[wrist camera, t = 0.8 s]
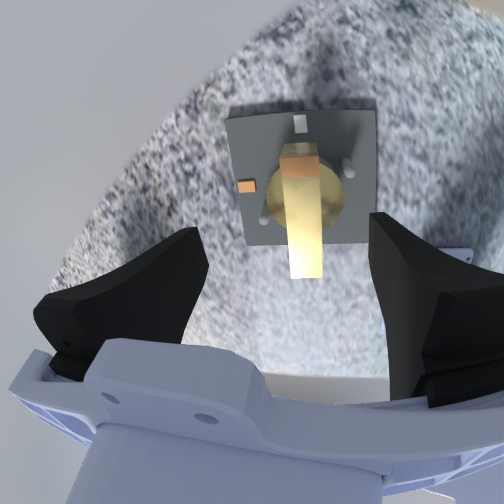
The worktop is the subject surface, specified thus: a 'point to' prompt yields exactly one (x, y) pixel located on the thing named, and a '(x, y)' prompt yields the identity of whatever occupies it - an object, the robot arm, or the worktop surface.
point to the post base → (331, 143)
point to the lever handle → (304, 204)
